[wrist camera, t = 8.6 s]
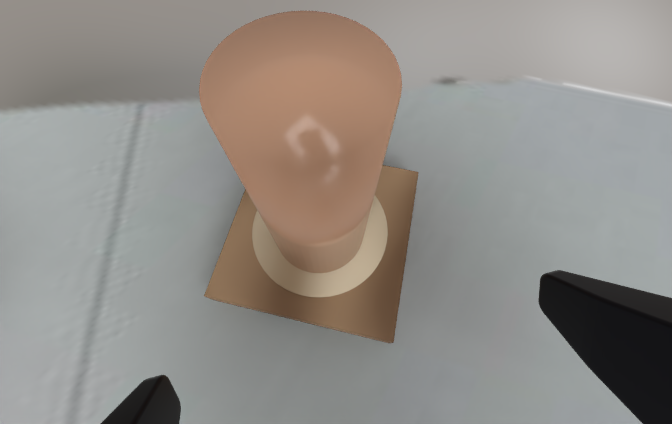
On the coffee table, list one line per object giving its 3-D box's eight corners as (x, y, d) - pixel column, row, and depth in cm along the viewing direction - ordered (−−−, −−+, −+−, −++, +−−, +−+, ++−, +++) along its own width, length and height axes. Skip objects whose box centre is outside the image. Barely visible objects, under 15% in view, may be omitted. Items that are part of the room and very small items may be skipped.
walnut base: (413, 182, 23) (419, 170, 21) (388, 343, 19) (394, 342, 17) (267, 153, 24) (263, 139, 22) (213, 299, 20) (202, 295, 18)
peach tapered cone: (380, 219, 20) (437, 60, 9) (329, 292, 18) (323, 204, 7) (310, 175, 21) (285, -12, 10) (256, 239, 19) (155, 96, 8)
